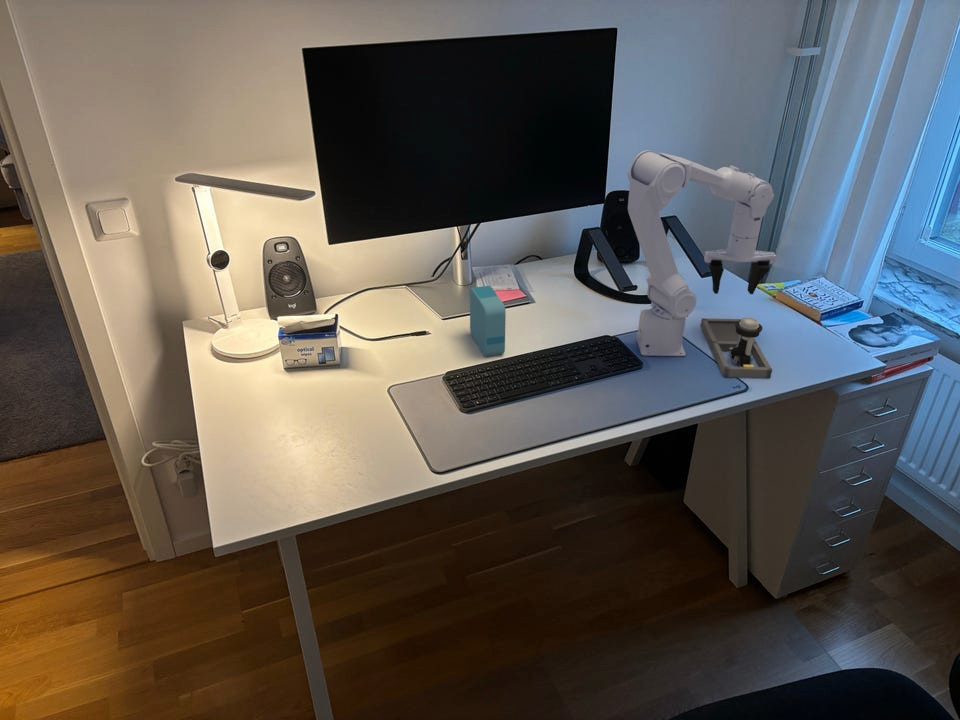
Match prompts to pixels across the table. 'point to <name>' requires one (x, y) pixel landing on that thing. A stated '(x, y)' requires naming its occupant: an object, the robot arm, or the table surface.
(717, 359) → the shallow brown tray
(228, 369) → the table surface
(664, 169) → the robot arm
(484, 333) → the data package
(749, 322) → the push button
